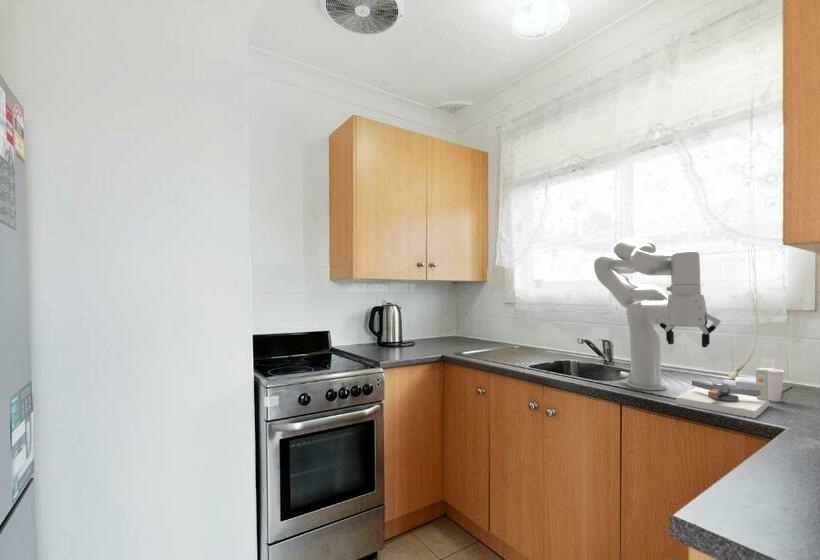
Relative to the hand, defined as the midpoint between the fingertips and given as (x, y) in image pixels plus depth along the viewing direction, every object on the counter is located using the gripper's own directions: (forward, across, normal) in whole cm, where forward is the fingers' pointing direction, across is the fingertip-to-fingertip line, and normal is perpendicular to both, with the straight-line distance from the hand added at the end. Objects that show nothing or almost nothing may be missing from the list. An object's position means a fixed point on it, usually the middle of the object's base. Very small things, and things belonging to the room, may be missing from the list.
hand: (687, 345), depth 124 cm
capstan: (+16, +7, +3) cm, 18 cm away
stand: (+18, +7, +6) cm, 20 cm away
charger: (+19, +8, +31) cm, 37 cm away
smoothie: (+18, +16, +24) cm, 34 cm away
